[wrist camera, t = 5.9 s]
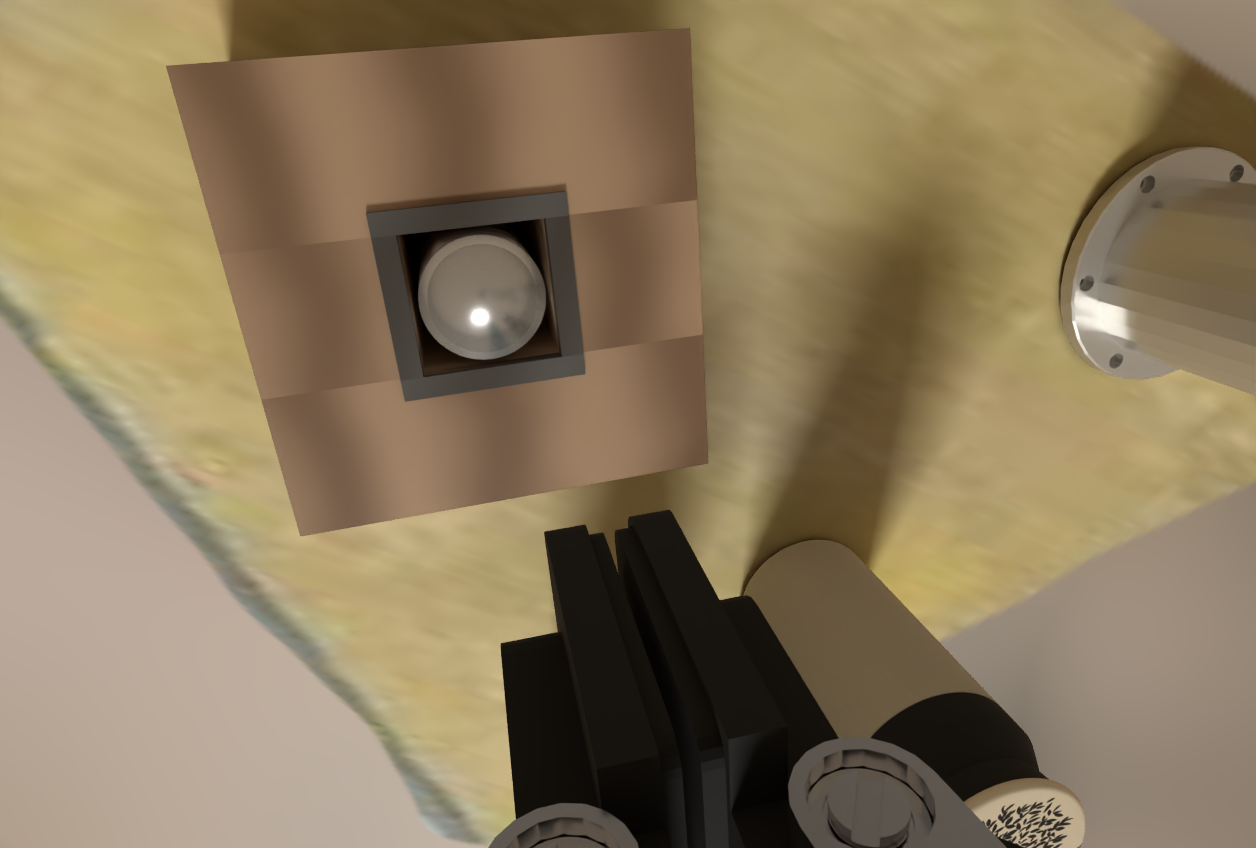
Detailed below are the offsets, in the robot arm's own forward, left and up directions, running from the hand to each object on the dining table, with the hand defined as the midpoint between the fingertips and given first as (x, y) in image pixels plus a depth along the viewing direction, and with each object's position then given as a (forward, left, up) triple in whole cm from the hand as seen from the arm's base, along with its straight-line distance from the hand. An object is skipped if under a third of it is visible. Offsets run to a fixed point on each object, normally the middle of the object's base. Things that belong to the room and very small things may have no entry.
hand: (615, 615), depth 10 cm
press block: (+1, 0, -27) cm, 27 cm away
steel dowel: (+1, 0, -27) cm, 27 cm away
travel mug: (-15, +22, -27) cm, 38 cm away
